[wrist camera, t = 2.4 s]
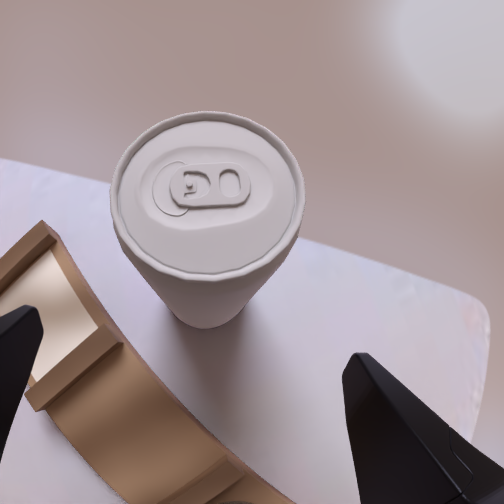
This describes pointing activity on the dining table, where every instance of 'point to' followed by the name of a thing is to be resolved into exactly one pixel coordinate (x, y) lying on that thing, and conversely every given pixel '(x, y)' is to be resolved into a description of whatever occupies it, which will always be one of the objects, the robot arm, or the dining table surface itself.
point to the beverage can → (207, 211)
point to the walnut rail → (115, 391)
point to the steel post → (236, 502)
